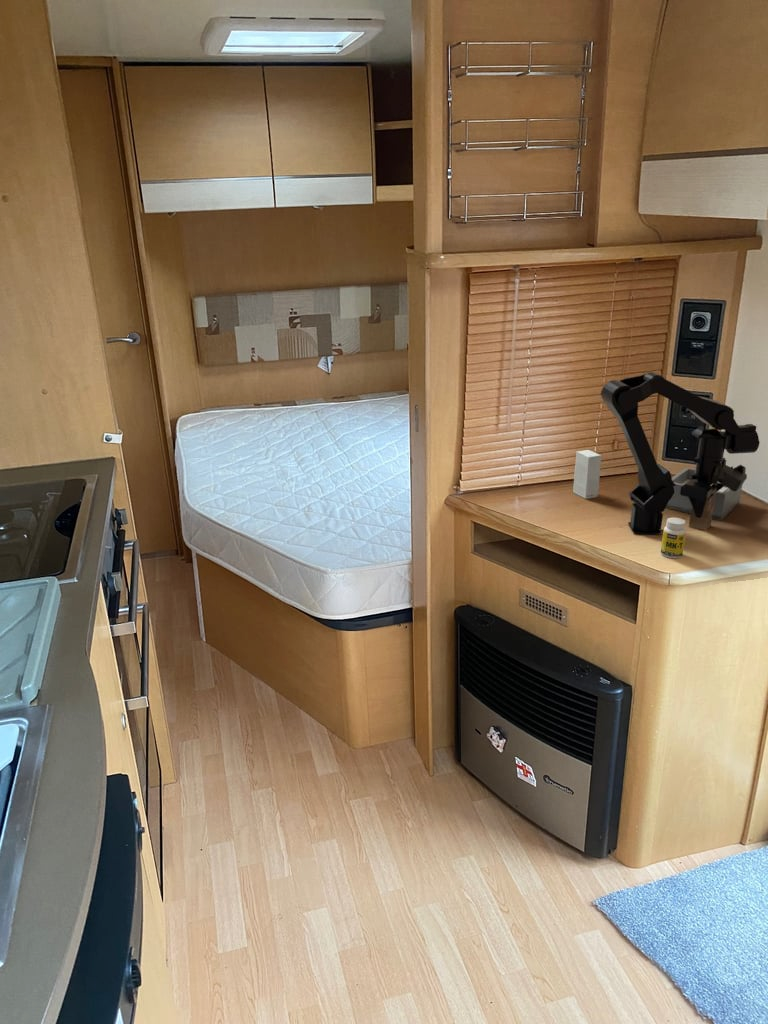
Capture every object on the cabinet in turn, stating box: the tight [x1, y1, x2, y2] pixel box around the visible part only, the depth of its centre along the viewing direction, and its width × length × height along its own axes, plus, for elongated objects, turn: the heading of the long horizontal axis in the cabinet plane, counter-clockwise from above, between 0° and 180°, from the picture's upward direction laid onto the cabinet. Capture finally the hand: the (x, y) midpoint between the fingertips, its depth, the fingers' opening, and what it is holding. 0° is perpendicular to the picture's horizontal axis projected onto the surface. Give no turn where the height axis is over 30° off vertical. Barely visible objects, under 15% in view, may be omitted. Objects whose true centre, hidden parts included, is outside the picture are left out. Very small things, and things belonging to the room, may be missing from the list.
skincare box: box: [572, 449, 602, 500], centre depth 212 cm, size 6×4×12 cm
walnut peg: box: [688, 487, 717, 531], centre depth 191 cm, size 4×4×10 cm
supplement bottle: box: [660, 517, 687, 559], centre depth 176 cm, size 5×5×8 cm
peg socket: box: [665, 467, 744, 521], centre depth 204 cm, size 15×15×7 cm
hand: (701, 514), depth 191 cm, fingers closed on walnut peg, 4 cm apart
